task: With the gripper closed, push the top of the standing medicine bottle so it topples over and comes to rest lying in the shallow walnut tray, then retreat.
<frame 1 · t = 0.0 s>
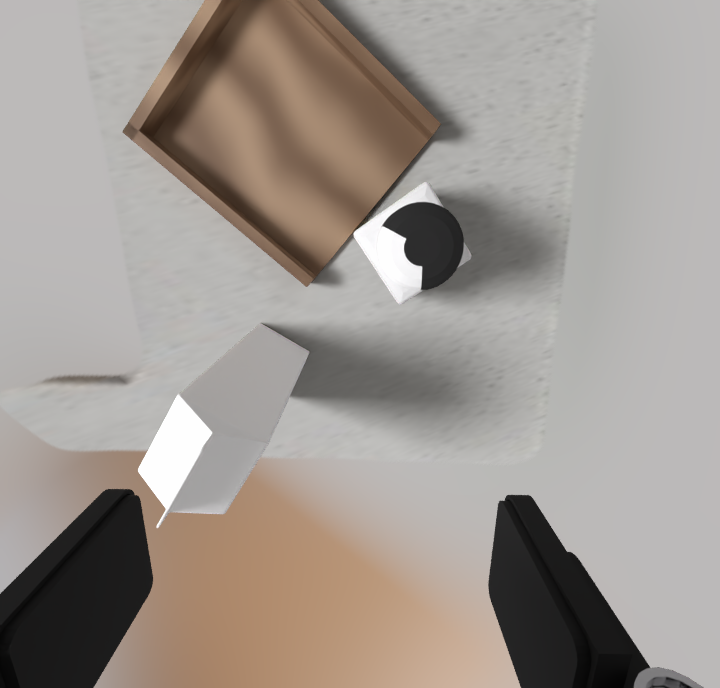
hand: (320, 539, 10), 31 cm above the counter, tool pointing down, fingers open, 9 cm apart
medicine bottle: (404, 243, 39), on the counter
walnut tray: (287, 136, 36), on the counter
milk: (272, 359, 42), on the counter
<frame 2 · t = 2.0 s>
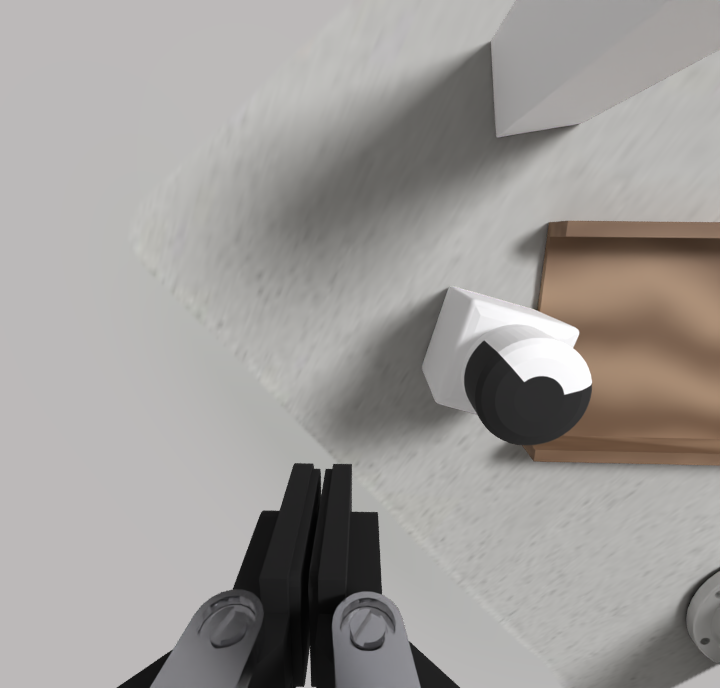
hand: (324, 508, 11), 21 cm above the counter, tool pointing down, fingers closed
medicine bottle: (475, 339, 32), on the counter
walnut tray: (661, 342, 31), on the counter
milk: (535, 84, 27), on the counter
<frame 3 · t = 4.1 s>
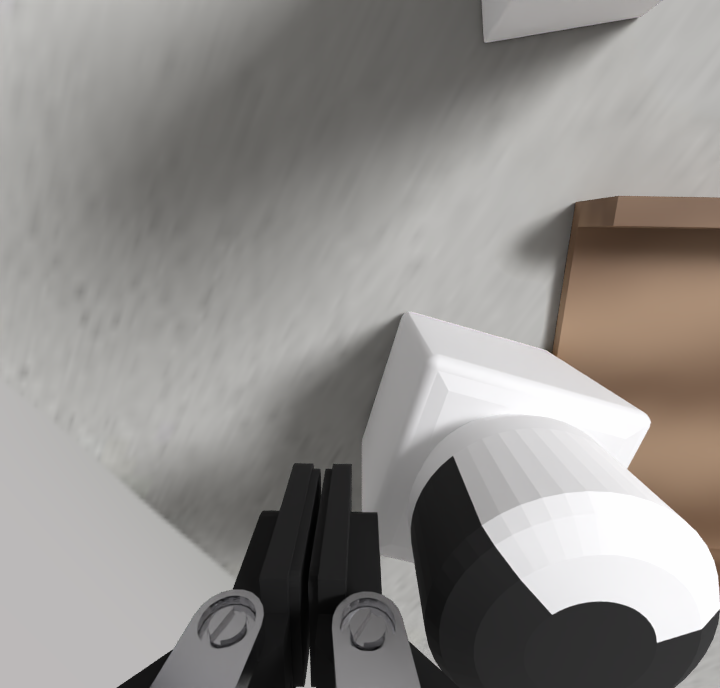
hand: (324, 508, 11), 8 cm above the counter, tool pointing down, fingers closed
medicine bottle: (450, 396, 19), on the counter, touching gripper
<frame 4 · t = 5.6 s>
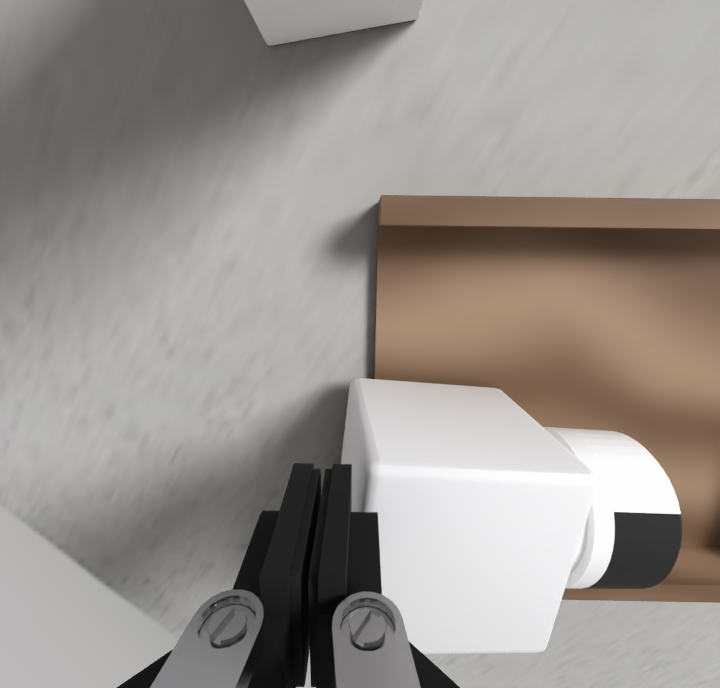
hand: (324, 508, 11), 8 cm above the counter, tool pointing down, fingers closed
medicine bottle: (341, 494, 15), point 5 cm above the counter, touching gripper, walnut tray
walnut tray: (579, 400, 19), on the counter
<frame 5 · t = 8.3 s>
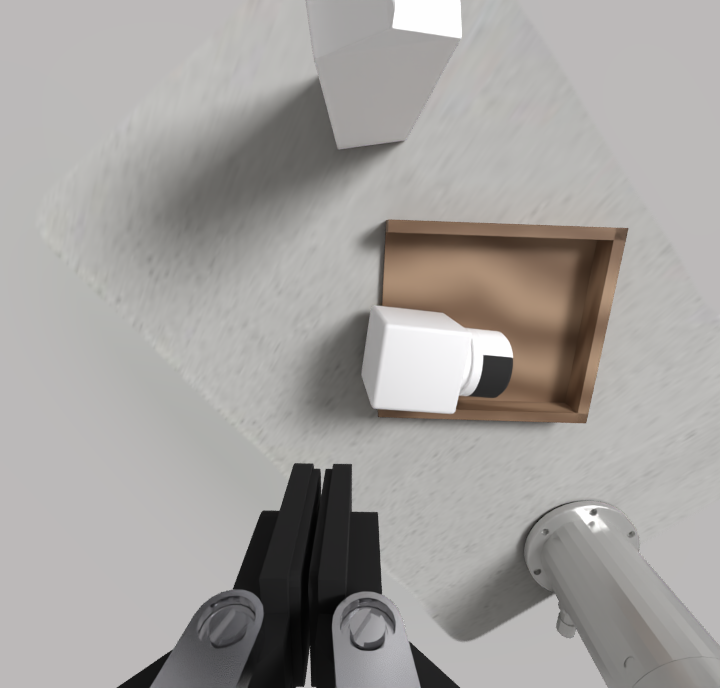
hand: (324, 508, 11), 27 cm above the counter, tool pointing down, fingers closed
medicine bottle: (368, 353, 34), point 5 cm above the counter, touching walnut tray
walnut tray: (484, 321, 38), on the counter
milk: (368, 107, 33), on the counter
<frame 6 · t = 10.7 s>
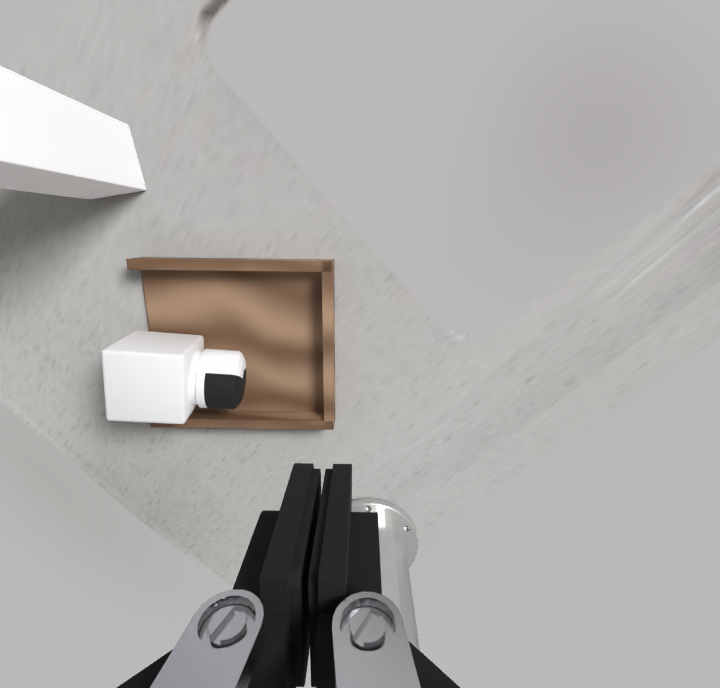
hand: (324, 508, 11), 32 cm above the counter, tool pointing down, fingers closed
medicine bottle: (118, 372, 39), point 5 cm above the counter, touching walnut tray
walnut tray: (244, 341, 43), on the counter
milk: (110, 163, 39), on the counter
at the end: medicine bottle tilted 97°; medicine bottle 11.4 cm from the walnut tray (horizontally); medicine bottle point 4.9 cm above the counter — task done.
